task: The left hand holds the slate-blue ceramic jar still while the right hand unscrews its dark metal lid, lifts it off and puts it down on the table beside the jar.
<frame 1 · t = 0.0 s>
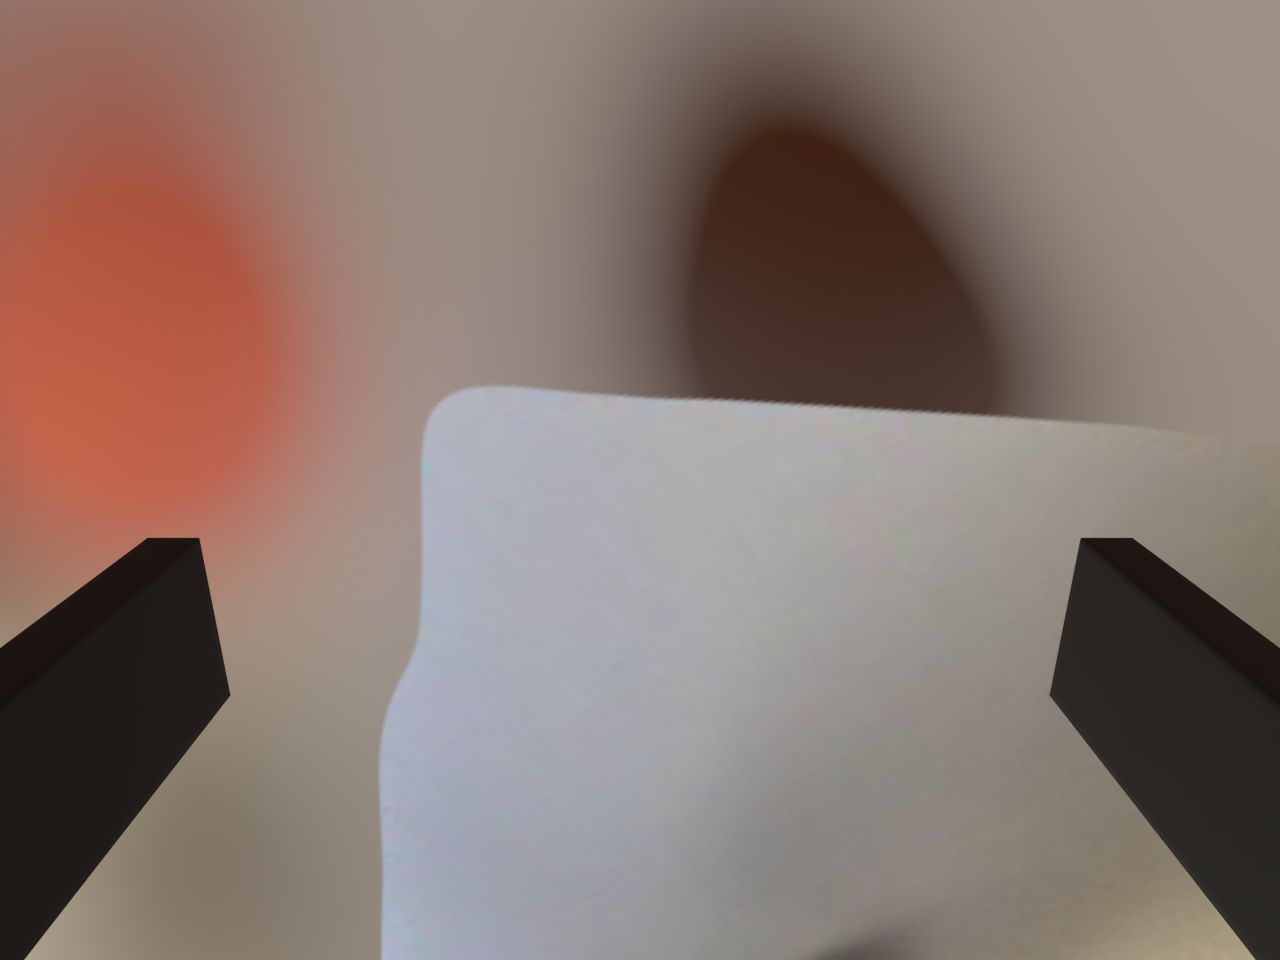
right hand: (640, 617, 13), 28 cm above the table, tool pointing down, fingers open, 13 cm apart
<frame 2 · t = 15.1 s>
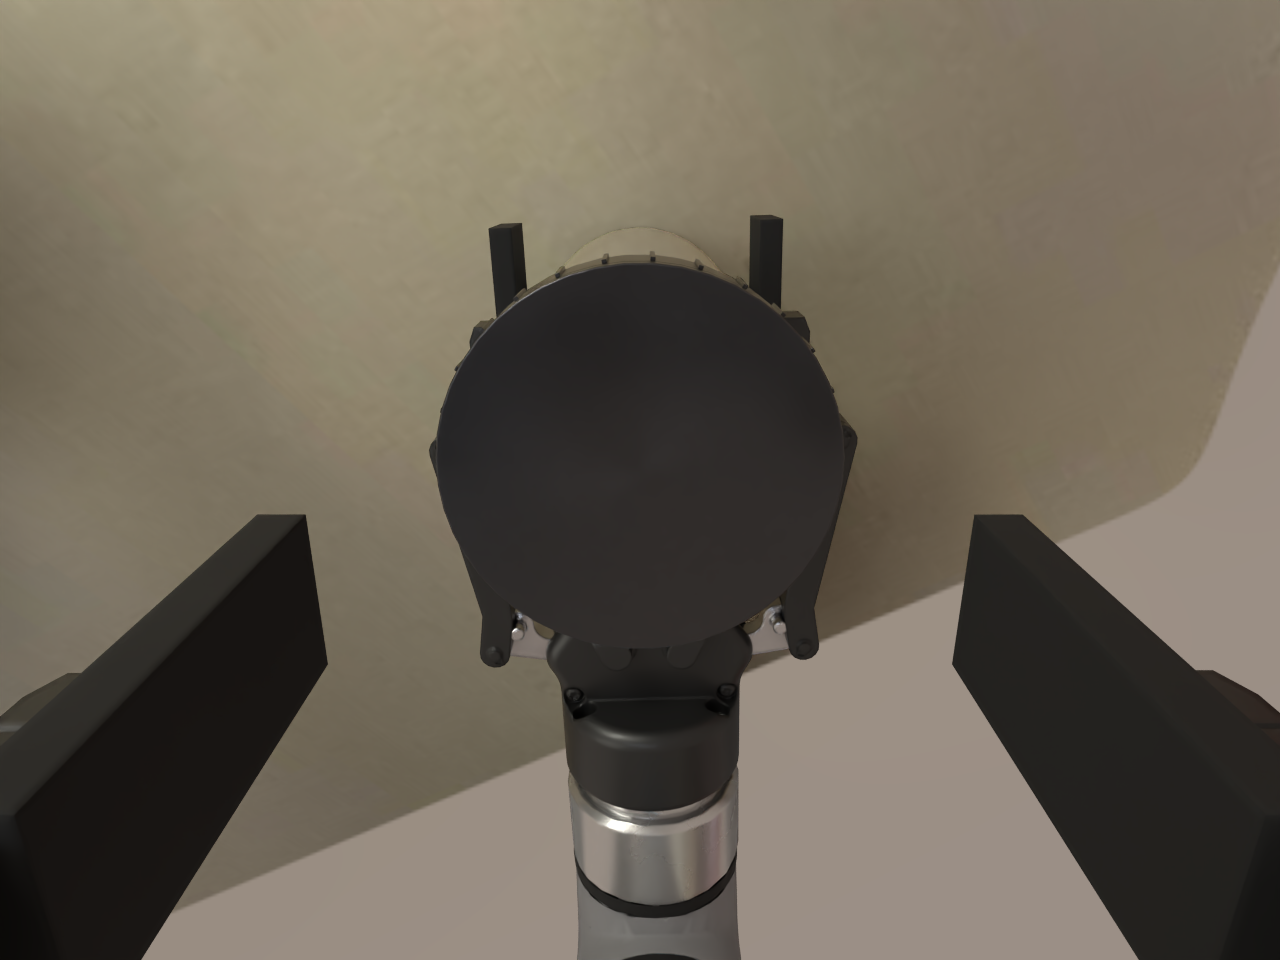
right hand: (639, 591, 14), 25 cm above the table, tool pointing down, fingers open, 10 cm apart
left hand: (635, 222, 29), fingers closed on jar, 8 cm apart
lid: (640, 467, 19), point 19 cm above the table, screwed on, not yet turned
jar: (640, 325, 37), on the table, touching left hand
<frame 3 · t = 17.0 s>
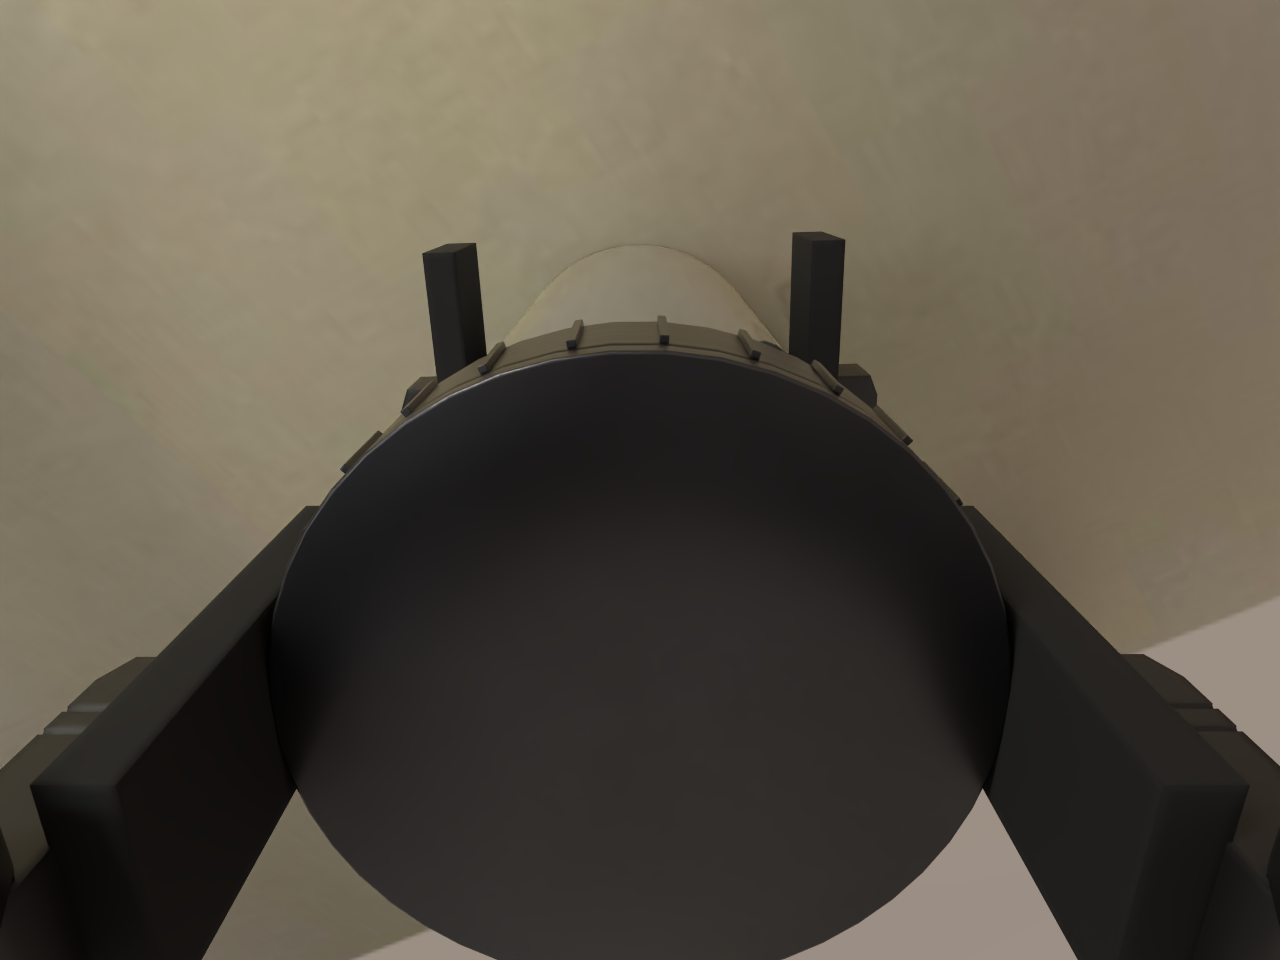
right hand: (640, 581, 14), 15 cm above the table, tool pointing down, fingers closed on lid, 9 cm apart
lid: (639, 699, 11), point 19 cm above the table, screwed on, not yet turned, touching right hand
jar: (639, 371, 28), on the table, touching left hand
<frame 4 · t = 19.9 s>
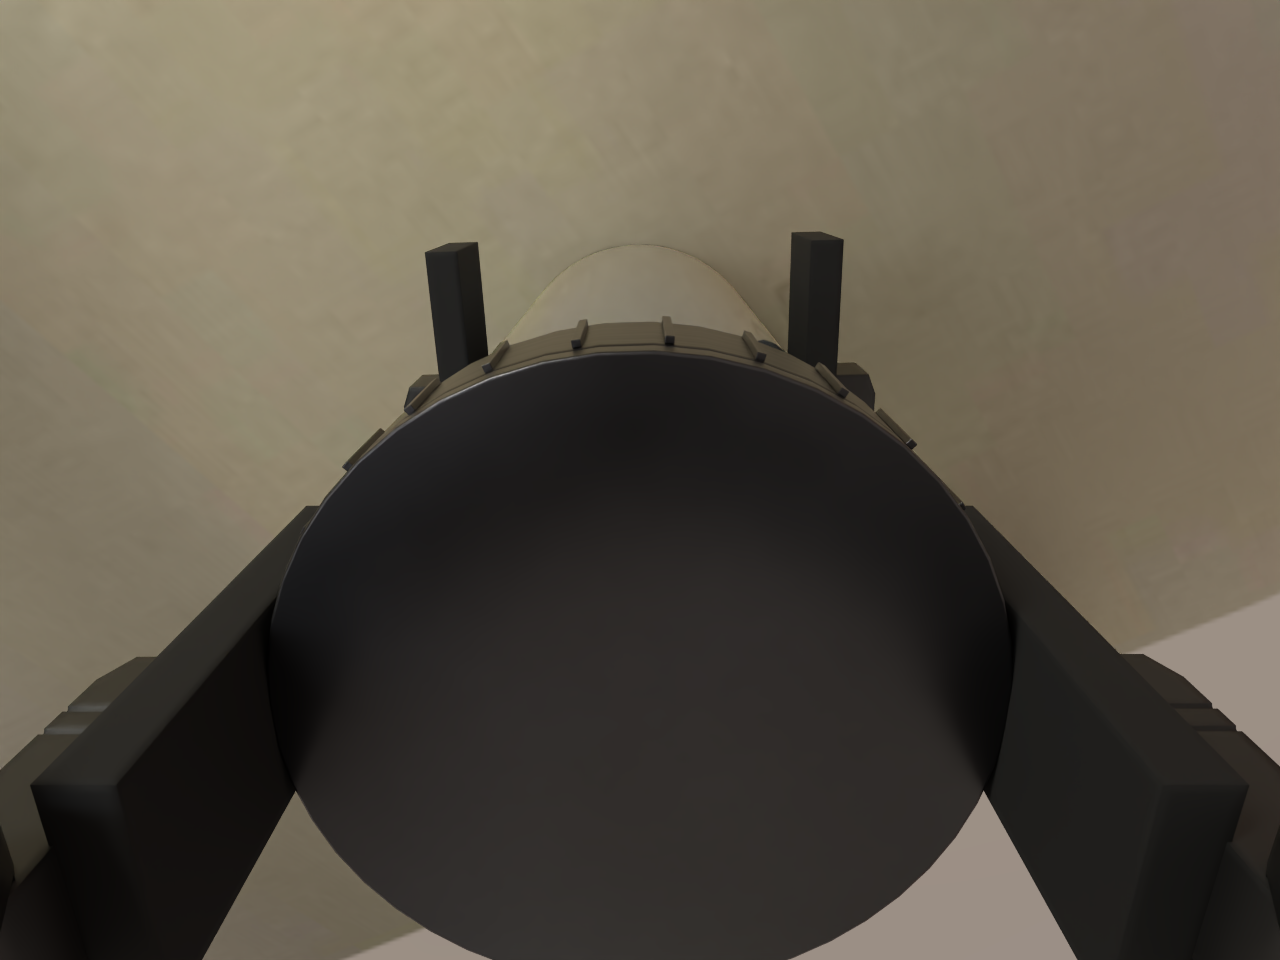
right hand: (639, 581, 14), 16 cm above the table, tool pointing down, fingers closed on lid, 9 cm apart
lid: (639, 700, 11), point 19 cm above the table, turned 77° so far, risen 0.2 cm, still on its thread, touching right hand
jar: (639, 370, 29), on the table, touching left hand
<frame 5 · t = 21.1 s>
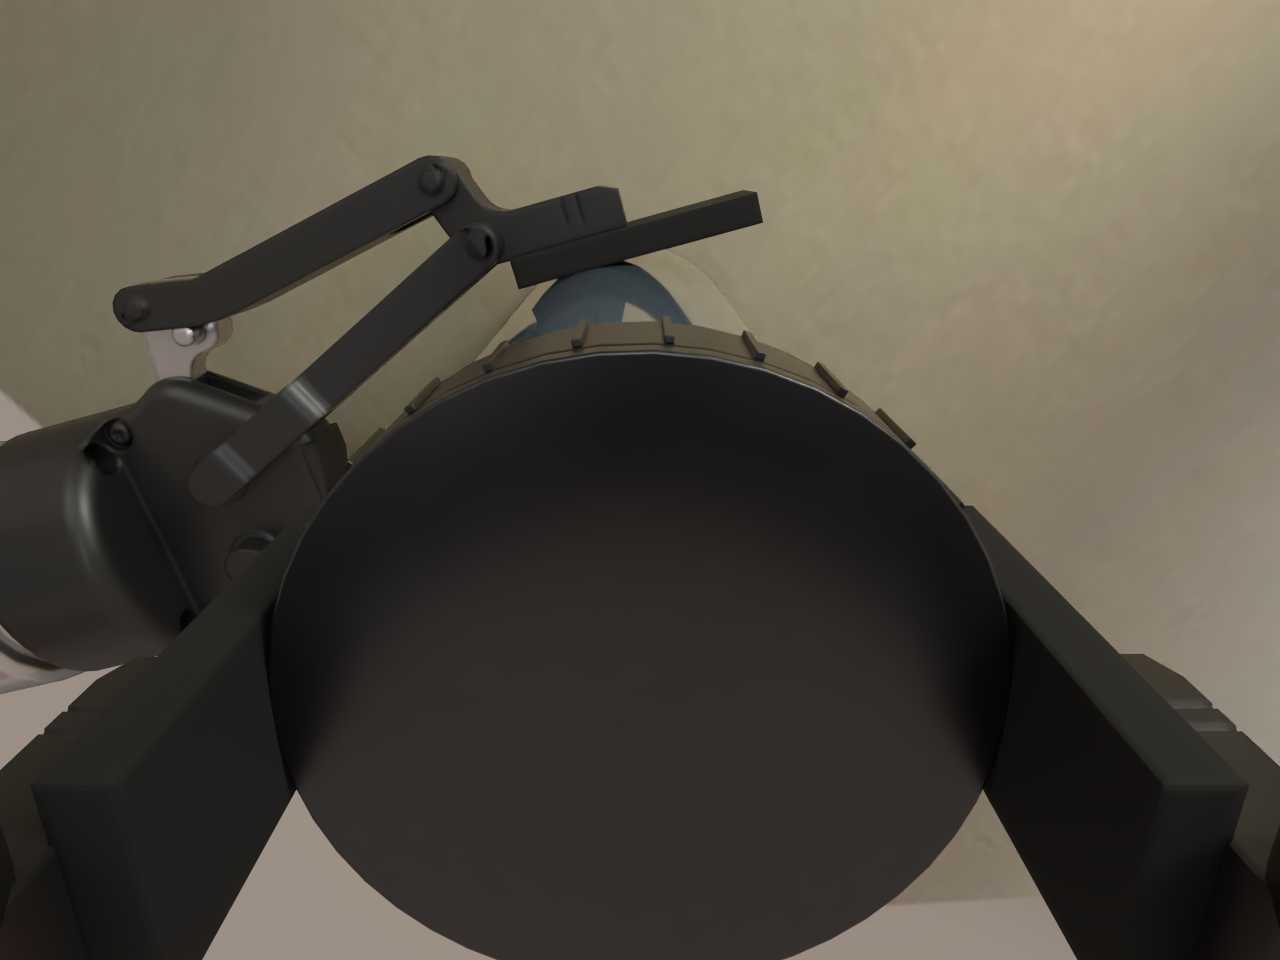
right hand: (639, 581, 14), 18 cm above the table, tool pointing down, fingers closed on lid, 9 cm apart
left hand: (785, 365, 24), fingers closed on jar, 8 cm apart
lid: (639, 699, 11), point 21 cm above the table, off its thread, touching right hand
jar: (627, 360, 30), on the table, touching left hand
when the right hand's fingers open (0 cm above the table, at t = 25.6 s): lid drops 2 cm, point 2 cm above the table.
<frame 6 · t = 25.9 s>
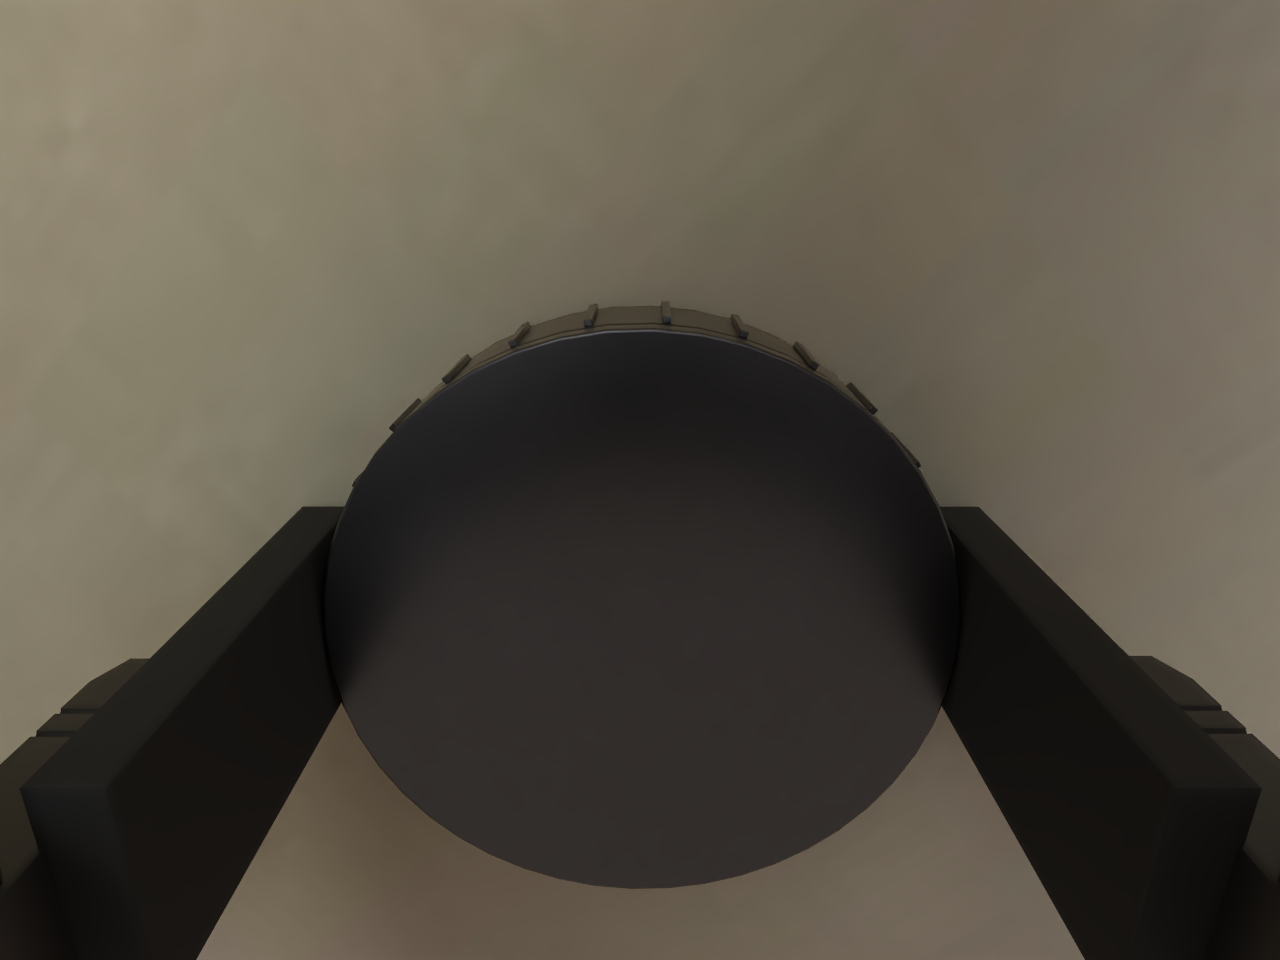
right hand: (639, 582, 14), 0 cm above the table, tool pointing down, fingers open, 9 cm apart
lid: (641, 633, 13), point 2 cm above the table, off its thread
when the left hand's fingers open (6 cm above the table, at t = 27.3 s): jar stays where it is, on the table.
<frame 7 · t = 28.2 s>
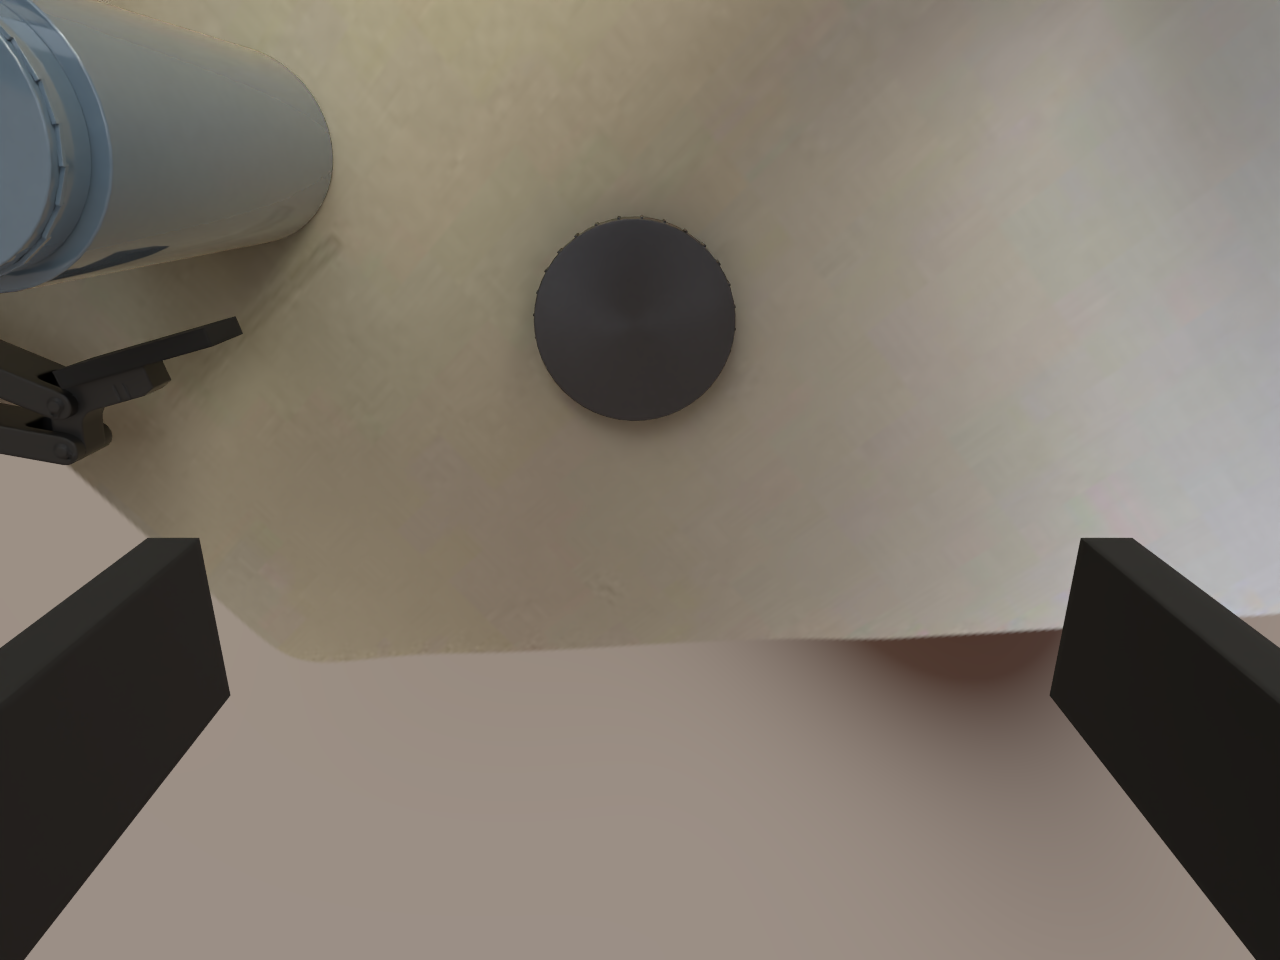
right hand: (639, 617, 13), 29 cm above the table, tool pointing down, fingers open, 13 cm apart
lid: (634, 322, 39), point 2 cm above the table, off its thread
jar: (239, 147, 38), on the table
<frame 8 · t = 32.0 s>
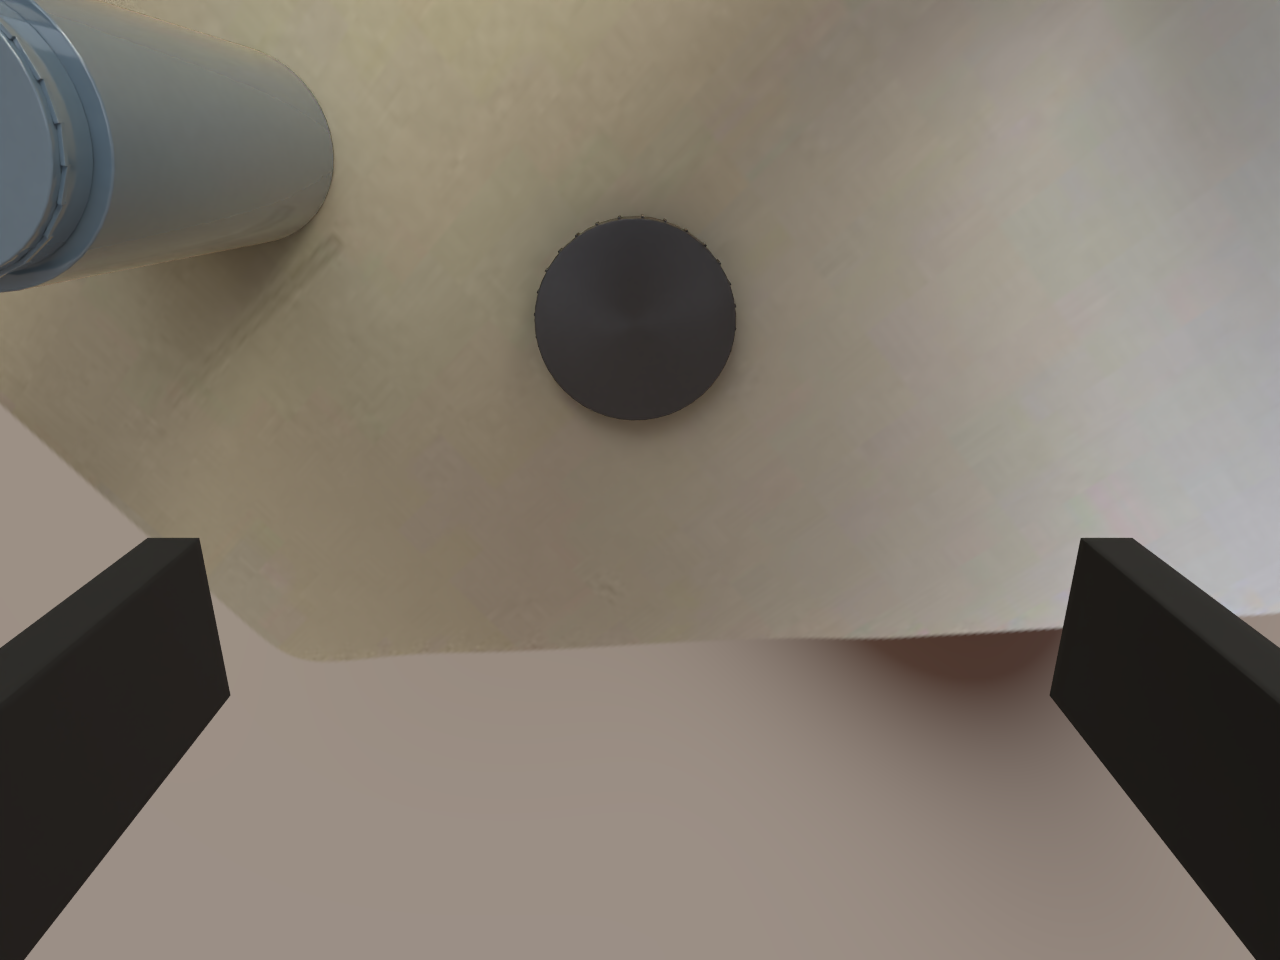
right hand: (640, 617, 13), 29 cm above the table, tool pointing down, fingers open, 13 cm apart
lid: (635, 322, 39), point 2 cm above the table, off its thread
jar: (240, 147, 38), on the table
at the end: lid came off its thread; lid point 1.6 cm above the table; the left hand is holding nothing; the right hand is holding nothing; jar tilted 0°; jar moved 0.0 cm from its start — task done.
